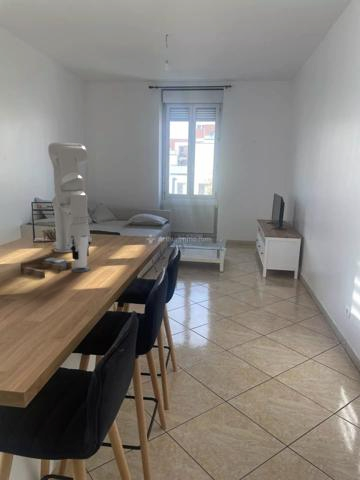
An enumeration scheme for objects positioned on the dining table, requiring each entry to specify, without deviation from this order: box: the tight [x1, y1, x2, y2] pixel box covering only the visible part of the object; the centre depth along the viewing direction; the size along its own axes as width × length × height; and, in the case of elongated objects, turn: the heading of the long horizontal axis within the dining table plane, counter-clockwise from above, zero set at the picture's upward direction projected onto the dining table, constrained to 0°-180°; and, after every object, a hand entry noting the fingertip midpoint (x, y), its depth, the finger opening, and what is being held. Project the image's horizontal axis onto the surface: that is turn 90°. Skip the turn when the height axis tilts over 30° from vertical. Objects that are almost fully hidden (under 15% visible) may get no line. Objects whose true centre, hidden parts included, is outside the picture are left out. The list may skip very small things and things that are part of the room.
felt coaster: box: [70, 265, 92, 273], centre depth 168 cm, size 9×9×1 cm
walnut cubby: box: [20, 254, 73, 279], centre depth 164 cm, size 13×18×5 cm
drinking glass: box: [74, 236, 88, 268], centre depth 166 cm, size 7×7×15 cm
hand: (80, 257), depth 167 cm, fingers closed on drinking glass, 6 cm apart
